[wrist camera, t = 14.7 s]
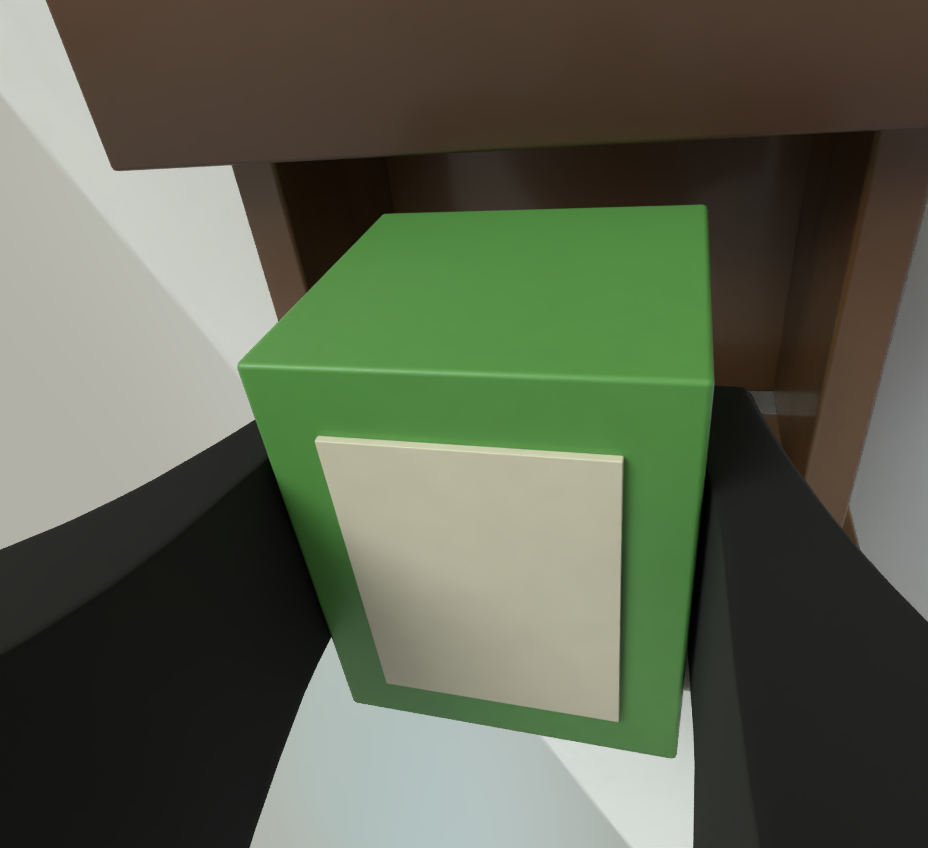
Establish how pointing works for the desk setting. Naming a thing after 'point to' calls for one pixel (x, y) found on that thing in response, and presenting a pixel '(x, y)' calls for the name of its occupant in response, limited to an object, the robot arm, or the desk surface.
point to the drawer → (730, 246)
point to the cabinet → (482, 74)
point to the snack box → (503, 462)
